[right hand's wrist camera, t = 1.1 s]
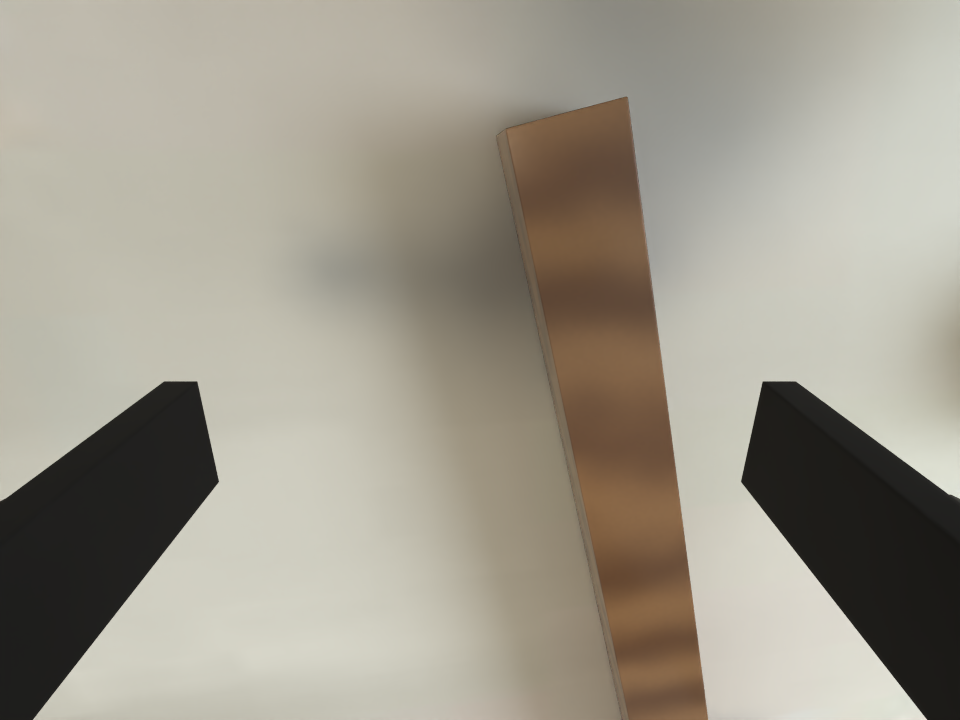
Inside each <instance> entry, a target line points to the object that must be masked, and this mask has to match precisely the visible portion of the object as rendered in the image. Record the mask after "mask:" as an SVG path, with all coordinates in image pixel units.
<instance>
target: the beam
mask: <svg viewBox="0 0 960 720" xmlns="http://www.w3.org/2000/svg"><path fill="white" fill-rule="evenodd" d="M496 138H497V143H498V148H499V152H500V157H501V161H502V166H503V171H504V175H505V180H506V185H507V189H508V194H509V198H510V203H511V208H512V212H513V217H514V222H515V226H516V231H517V236H518V240H519V245H520V249H521V254H522V259H523V263H524V268H525V273H526V277H527V282H528V286H529V291H530V296H531V300H532V305H533V310H534V314H535V319H536V323H537V328H538V333H539V337H540V342H541V347H542V351H543V356H544V361H545V365H546V370H547V374H548V379H549V384H550V388H551V393H552V398H553V402H554V407H555V411H556V416H557V421H558V425H559V430H560V435H561V439H562V444H563V448H564V453H565V458H566V462H567V467H568V472H569V476H570V481H571V486H572V490H573V495H574V499H575V504H576V509H577V513H578V518H579V523H580V527H581V532H582V536H583V541H584V546H585V550H586V555H587V560H588V564H589V569H590V573H591V578H592V583H593V587H594V592H595V597H596V601H597V606H598V611H599V615H600V620H601V624H602V629H603V634H604V638H605V643H606V648H607V652H608V657H609V661H610V666H611V671H612V675H613V680H614V685H615V689H616V694H617V698H618V703H619V708H620V712H621V717H622V720H708V715H707V707H706V699H705V692H704V684H703V676H702V668H701V661H700V653H699V645H698V638H697V630H696V622H695V614H694V607H693V599H692V591H691V583H690V576H689V568H688V560H687V552H686V545H685V537H684V529H683V521H682V514H681V506H680V498H679V490H678V483H677V475H676V467H675V459H674V452H673V444H672V436H671V428H670V421H669V413H668V405H667V397H666V390H665V382H664V374H663V367H662V359H661V351H660V343H659V336H658V328H657V320H656V312H655V305H654V297H653V289H652V281H651V274H650V266H649V258H648V250H647V243H646V235H645V227H644V219H643V212H642V204H641V196H640V188H639V181H638V173H637V165H636V157H635V150H634V142H633V134H632V127H631V119H630V111H629V103H628V98H627V97H623V98H619V99H615V100H611V101H608V102H604V103H600V104H596V105H593V106H589V107H585V108H581V109H578V110H574V111H570V112H566V113H563V114H559V115H555V116H551V117H548V118H544V119H540V120H536V121H532V122H529V123H525V124H521V125H517V126H514V127H510V128H507V129H505V130H504V131H502V132H501V133H500V134H498V135H497V136H496Z"/></svg>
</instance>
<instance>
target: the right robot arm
mask: <svg viewBox="0 0 960 720" xmlns="http://www.w3.org/2000/svg"><path fill="white" fill-rule="evenodd" d="M218 482H219V480H218V475H217V471H216V466H215V462H214V457H213V452H212V448H211V443H210V438H209V434H208V429H207V425H206V420H205V415H204V411H203V406H202V401H201V397H200V392H199V388H198V383H197V382H163V383H162V384H160V385H159V386H158V387H156V388H155V389H153V390H152V391H151V392H149V393H148V394H147V395H145V396H144V397H143V398H141V399H140V400H139V401H137V402H136V403H135V404H133V405H132V406H131V407H129V408H128V409H126V410H125V411H124V412H122V413H121V414H120V415H118V416H117V417H116V418H114V419H113V420H112V421H110V422H109V423H108V424H106V425H105V426H103V427H102V428H101V429H99V430H98V431H97V432H95V433H94V434H93V435H91V436H90V437H89V438H87V439H86V440H85V441H83V442H82V443H80V444H79V445H78V446H76V447H75V448H74V449H72V450H71V451H70V452H68V453H67V454H66V455H64V456H63V457H62V458H60V459H59V460H57V461H56V462H55V463H53V464H52V465H51V466H49V467H48V468H47V469H45V470H44V471H43V472H41V473H40V474H39V475H37V476H36V477H35V478H33V479H32V480H30V481H29V482H28V483H26V484H25V485H24V486H22V487H21V488H20V489H18V490H17V491H16V492H14V493H13V494H12V495H10V496H9V497H7V498H6V499H4V500H2V501H0V720H33V719H34V717H35V716H36V715H37V714H38V712H39V711H40V710H41V709H42V707H43V706H44V705H45V703H46V702H47V701H48V700H49V698H50V697H51V696H52V694H53V693H54V692H55V691H56V689H57V688H58V687H59V686H60V684H61V683H62V682H63V680H64V679H65V678H66V677H67V675H68V674H69V673H70V671H71V670H72V669H73V668H74V666H75V665H76V664H77V663H78V661H79V660H80V659H81V657H82V656H83V655H84V654H85V652H86V651H87V650H88V648H89V647H90V646H91V645H92V643H93V642H94V641H95V640H96V638H97V637H98V636H99V634H100V633H101V632H102V631H103V629H104V628H105V627H106V625H107V624H108V623H109V622H110V620H111V619H112V618H113V617H114V615H115V614H116V613H117V611H118V610H119V609H120V608H121V606H122V605H123V604H124V602H125V601H126V600H127V599H128V597H129V596H130V595H131V593H132V592H133V591H134V590H135V588H136V587H137V586H138V585H139V583H140V582H141V581H142V579H143V578H144V577H145V576H146V574H147V573H148V572H149V570H150V569H151V568H152V567H153V565H154V564H155V563H156V562H157V560H158V559H159V558H160V556H161V555H162V554H163V553H164V551H165V550H166V549H167V547H168V546H169V545H170V544H171V542H172V541H173V540H174V539H175V537H176V536H177V535H178V533H179V532H180V531H181V530H182V528H183V527H184V526H185V524H186V523H187V522H188V521H189V519H190V518H191V517H192V516H193V514H194V513H195V512H196V510H197V509H198V508H199V507H200V505H201V504H202V503H203V501H204V500H205V499H206V498H207V496H208V495H209V494H210V493H211V491H212V490H213V489H214V487H215V486H216V485H217V484H218ZM741 482H742V484H743V485H744V486H745V487H746V489H747V490H748V491H749V493H750V494H751V495H752V496H753V498H754V499H755V500H756V501H757V503H758V504H759V505H760V507H761V508H762V509H763V510H764V512H765V513H766V514H767V516H768V517H769V518H770V519H771V521H772V522H773V523H774V524H775V526H776V527H777V528H778V530H779V531H780V532H781V533H782V535H783V536H784V537H785V539H786V540H787V541H788V542H789V544H790V545H791V546H792V547H793V549H794V550H795V551H796V553H797V554H798V555H799V556H800V558H801V559H802V560H803V562H804V563H805V564H806V565H807V567H808V568H809V569H810V570H811V572H812V573H813V574H814V576H815V577H816V578H817V579H818V581H819V582H820V583H821V585H822V586H823V587H824V588H825V590H826V591H827V592H828V593H829V595H830V596H831V597H832V599H833V600H834V601H835V602H836V604H837V605H838V606H839V608H840V609H841V610H842V611H843V613H844V614H845V615H846V617H847V618H848V619H849V620H850V622H851V623H852V624H853V625H854V627H855V628H856V629H857V631H858V632H859V633H860V634H861V636H862V637H863V638H864V640H865V641H866V642H867V643H868V645H869V646H870V647H871V648H872V650H873V651H874V652H875V654H876V655H877V656H878V657H879V659H880V660H881V661H882V663H883V664H884V665H885V666H886V668H887V669H888V670H889V671H890V673H891V674H892V675H893V677H894V678H895V679H896V680H897V682H898V683H899V684H900V686H901V687H902V688H903V689H904V691H905V692H906V693H907V694H908V696H909V697H910V698H911V700H912V701H913V702H914V703H915V705H916V706H917V707H918V709H919V710H920V711H921V712H922V714H923V715H924V716H925V717H926V719H927V720H960V499H959V498H957V497H955V496H953V495H948V494H947V493H946V492H944V491H943V490H942V489H940V488H939V487H938V486H936V485H935V484H934V483H932V482H931V481H930V480H928V479H927V478H925V477H924V476H923V475H921V474H920V473H919V472H917V471H916V470H915V469H913V468H912V467H911V466H909V465H908V464H907V463H905V462H904V461H903V460H901V459H900V458H898V457H897V456H896V455H894V454H893V453H892V452H890V451H889V450H888V449H886V448H885V447H884V446H882V445H881V444H880V443H878V442H877V441H875V440H874V439H873V438H871V437H870V436H869V435H867V434H866V433H865V432H863V431H862V430H861V429H859V428H858V427H857V426H855V425H854V424H852V423H851V422H850V421H848V420H847V419H846V418H844V417H843V416H842V415H840V414H839V413H838V412H836V411H835V410H834V409H832V408H831V407H829V406H828V405H827V404H825V403H824V402H823V401H821V400H820V399H819V398H817V397H816V396H815V395H813V394H812V393H811V392H809V391H808V390H807V389H805V388H804V387H802V386H801V385H800V384H798V383H797V382H763V383H762V388H761V392H760V397H759V401H758V406H757V411H756V415H755V420H754V425H753V429H752V434H751V438H750V443H749V448H748V452H747V457H746V462H745V466H744V471H743V475H742V480H741Z"/></svg>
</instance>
